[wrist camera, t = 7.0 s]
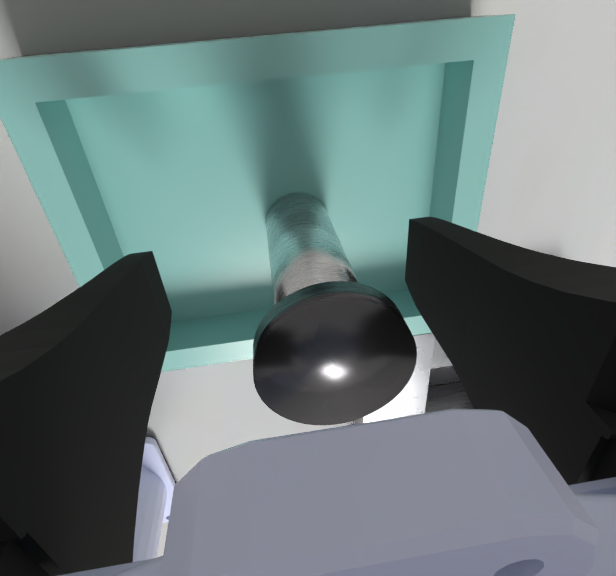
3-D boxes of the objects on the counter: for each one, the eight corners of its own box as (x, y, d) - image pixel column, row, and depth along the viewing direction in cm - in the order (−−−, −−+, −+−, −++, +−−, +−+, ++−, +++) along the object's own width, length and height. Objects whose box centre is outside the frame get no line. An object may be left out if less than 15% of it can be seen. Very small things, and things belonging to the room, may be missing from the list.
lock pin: (260, 270, 16) (271, 437, 10) (239, 185, 14) (234, 322, 8) (347, 254, 16) (416, 408, 10) (338, 167, 14) (418, 286, 8)
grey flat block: (355, 481, 27) (370, 542, 24) (353, 315, 19) (375, 372, 16) (498, 457, 27) (531, 513, 24) (552, 287, 20) (611, 337, 17)
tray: (135, 337, 18) (121, 377, 16) (21, 56, 12) (-25, 62, 10) (436, 295, 19) (459, 328, 17) (471, 16, 13) (515, 14, 11)
